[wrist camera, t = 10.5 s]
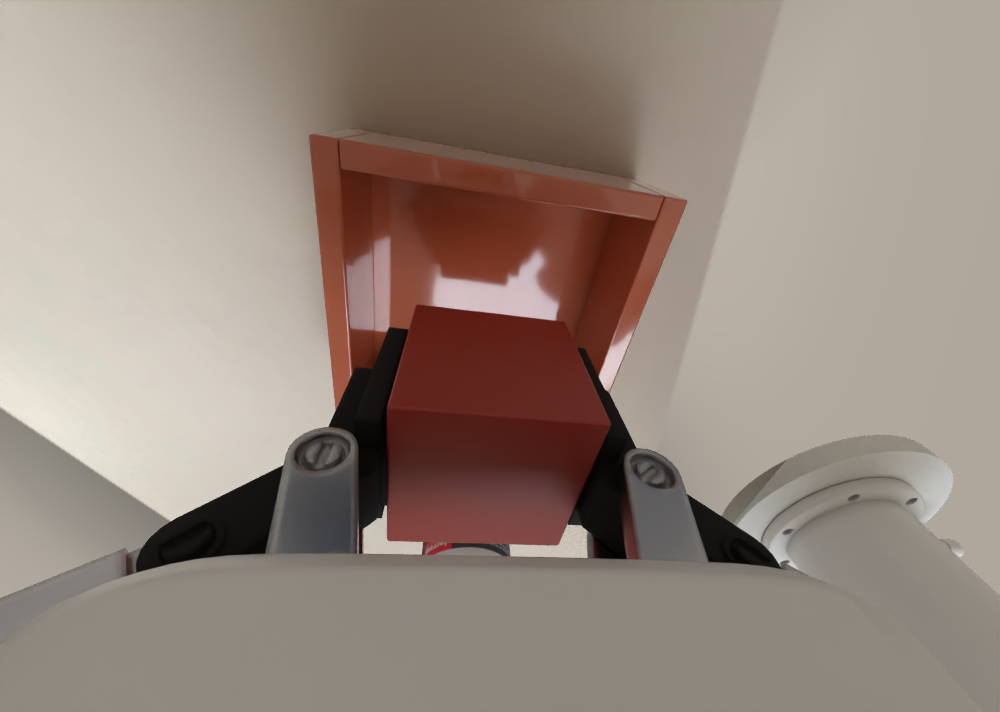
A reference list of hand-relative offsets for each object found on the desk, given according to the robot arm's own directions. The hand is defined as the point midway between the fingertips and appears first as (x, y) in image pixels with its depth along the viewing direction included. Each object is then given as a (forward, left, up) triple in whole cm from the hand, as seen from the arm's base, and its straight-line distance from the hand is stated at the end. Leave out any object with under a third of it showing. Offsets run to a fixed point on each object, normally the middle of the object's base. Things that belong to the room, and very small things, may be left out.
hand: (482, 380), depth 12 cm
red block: (0, 0, 0) cm, 0 cm away
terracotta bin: (0, 0, -8) cm, 8 cm away
